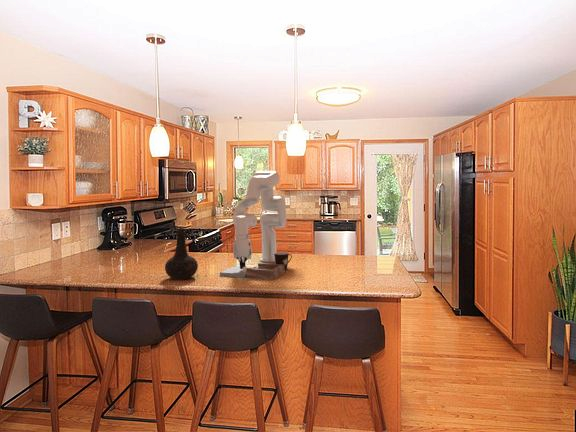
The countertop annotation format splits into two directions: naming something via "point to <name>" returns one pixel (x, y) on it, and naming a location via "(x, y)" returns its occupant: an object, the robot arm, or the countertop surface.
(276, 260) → the coffee mug
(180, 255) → the dark bulbous vase
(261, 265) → the box
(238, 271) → the slate plate
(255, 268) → the cream tile
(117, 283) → the countertop surface
